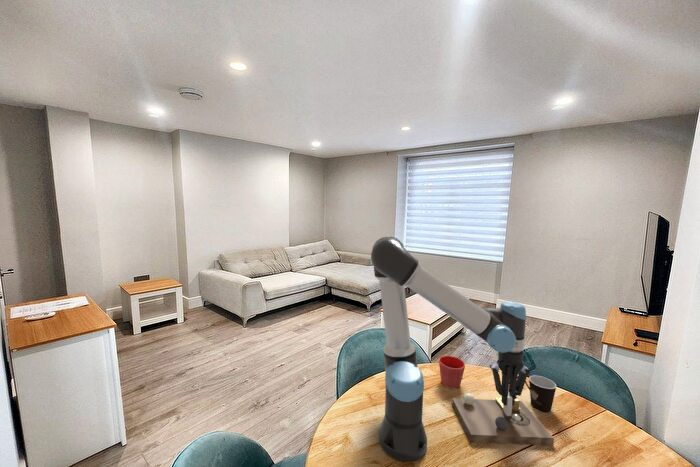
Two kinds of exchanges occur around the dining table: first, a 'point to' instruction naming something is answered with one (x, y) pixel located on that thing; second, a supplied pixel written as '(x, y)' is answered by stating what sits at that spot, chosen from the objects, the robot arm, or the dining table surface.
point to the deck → (484, 429)
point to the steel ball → (516, 417)
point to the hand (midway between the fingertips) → (507, 413)
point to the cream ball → (469, 399)
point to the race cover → (514, 407)
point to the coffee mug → (541, 393)
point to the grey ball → (501, 423)
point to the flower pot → (451, 371)
